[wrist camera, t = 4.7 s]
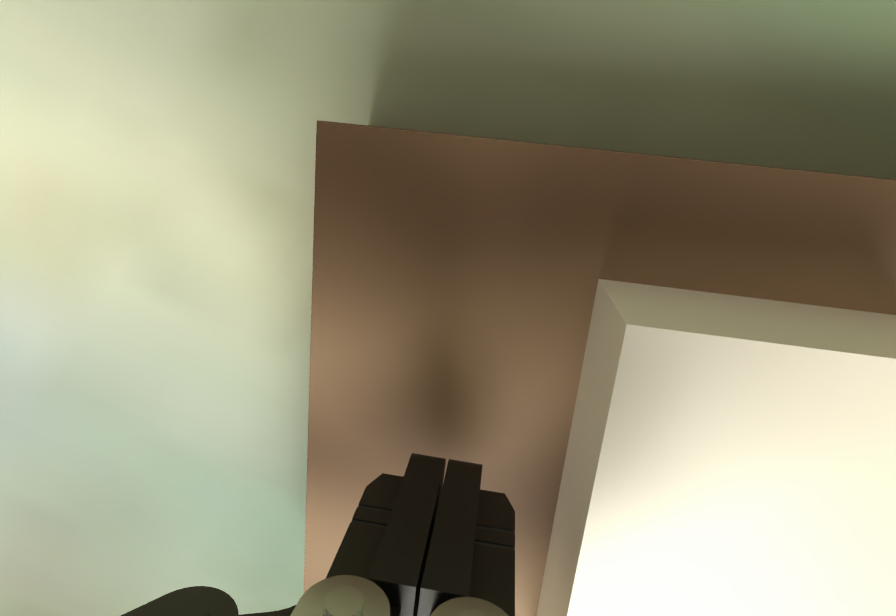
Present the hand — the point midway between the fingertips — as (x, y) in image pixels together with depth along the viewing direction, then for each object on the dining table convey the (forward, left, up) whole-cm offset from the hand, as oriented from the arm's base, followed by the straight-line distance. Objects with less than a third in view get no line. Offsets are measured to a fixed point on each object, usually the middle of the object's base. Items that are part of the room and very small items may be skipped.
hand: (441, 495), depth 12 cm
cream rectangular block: (0, +6, 0) cm, 6 cm away
